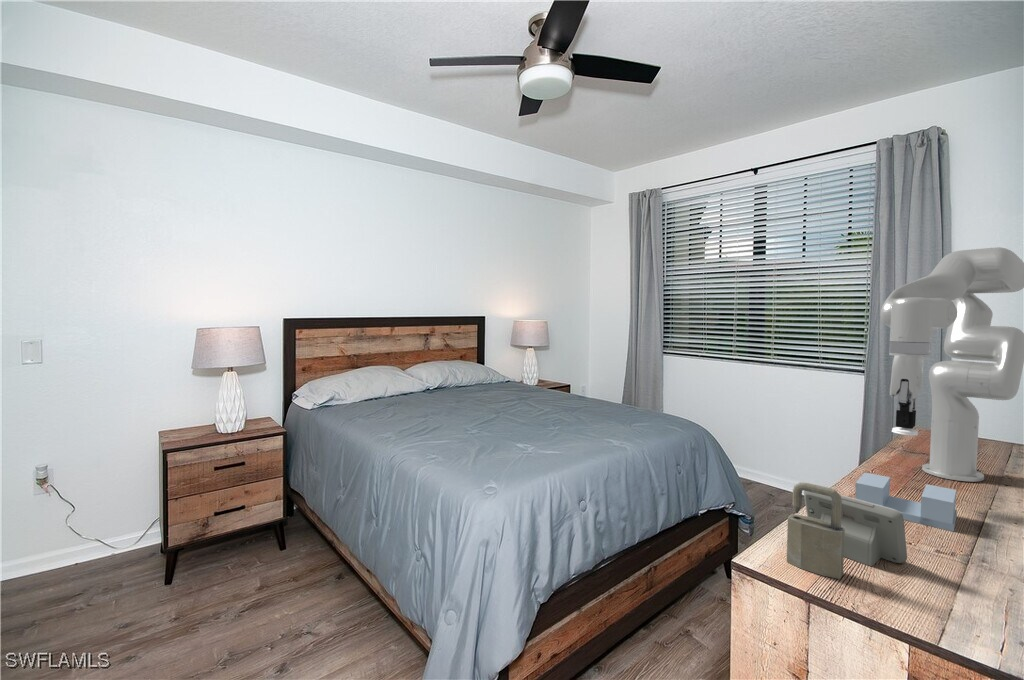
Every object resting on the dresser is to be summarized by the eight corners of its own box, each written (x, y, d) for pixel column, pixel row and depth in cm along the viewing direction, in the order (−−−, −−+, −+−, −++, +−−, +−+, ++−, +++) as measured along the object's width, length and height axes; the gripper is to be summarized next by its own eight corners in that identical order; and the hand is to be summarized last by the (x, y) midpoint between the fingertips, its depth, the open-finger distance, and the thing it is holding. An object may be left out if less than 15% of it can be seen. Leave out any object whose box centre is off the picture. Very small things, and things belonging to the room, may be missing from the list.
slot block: (862, 496, 117) (863, 472, 117) (956, 516, 105) (957, 490, 105) (853, 507, 110) (854, 482, 110) (953, 531, 98) (955, 503, 98)
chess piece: (920, 436, 110) (922, 393, 110) (893, 433, 113) (895, 391, 112) (916, 432, 114) (918, 391, 114) (890, 429, 117) (892, 389, 116)
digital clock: (913, 566, 85) (915, 507, 84) (883, 578, 81) (886, 517, 81) (822, 528, 100) (823, 479, 99) (793, 537, 96) (795, 485, 95)
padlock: (791, 555, 89) (794, 476, 88) (844, 572, 83) (847, 488, 82) (785, 563, 86) (787, 482, 85) (838, 581, 80) (841, 494, 79)
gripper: (895, 348, 121) (891, 419, 122) (883, 349, 110) (879, 428, 111) (934, 349, 115) (930, 425, 116) (926, 351, 104) (921, 434, 105)
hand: (905, 426), depth 113 cm, fingers closed on chess piece
